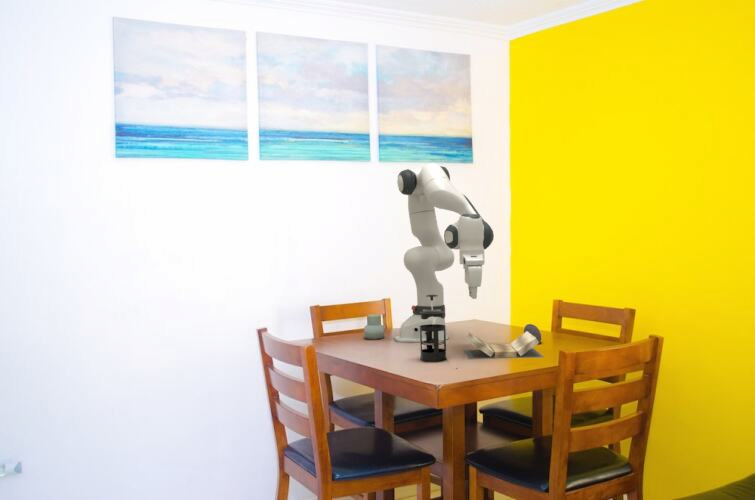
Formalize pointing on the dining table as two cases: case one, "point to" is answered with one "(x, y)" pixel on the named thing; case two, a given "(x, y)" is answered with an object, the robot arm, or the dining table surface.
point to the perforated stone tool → (533, 331)
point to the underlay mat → (481, 355)
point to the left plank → (480, 344)
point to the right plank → (524, 343)
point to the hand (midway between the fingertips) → (472, 297)
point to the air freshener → (374, 327)
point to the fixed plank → (502, 350)
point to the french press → (432, 331)
